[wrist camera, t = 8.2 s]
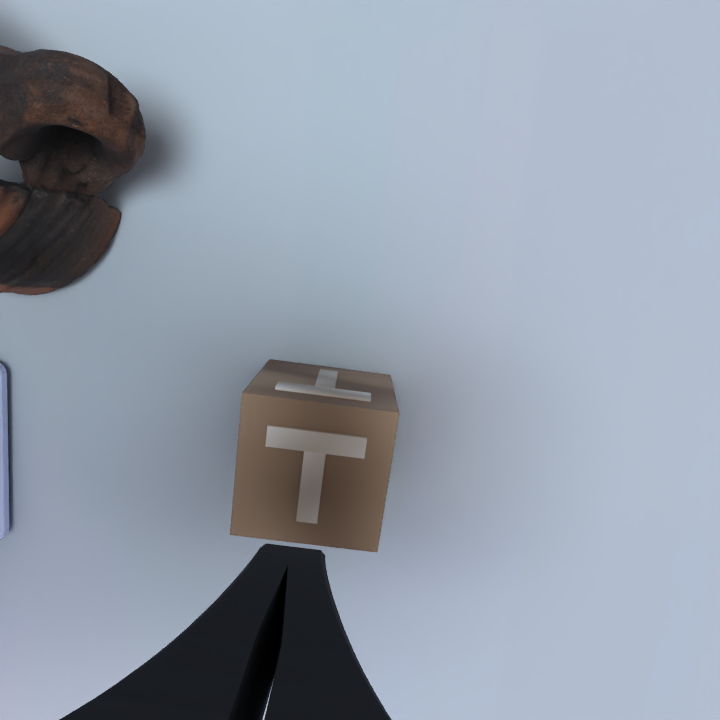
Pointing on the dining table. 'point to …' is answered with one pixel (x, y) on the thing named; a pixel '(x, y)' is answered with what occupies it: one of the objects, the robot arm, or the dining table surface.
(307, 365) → the letter cube
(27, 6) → the dining table surface
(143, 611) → the dining table surface
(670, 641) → the dining table surface
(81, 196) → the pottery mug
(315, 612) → the robot arm
